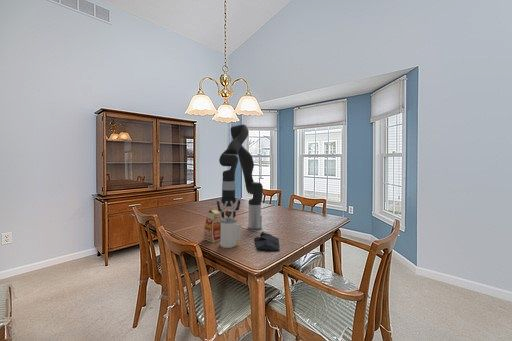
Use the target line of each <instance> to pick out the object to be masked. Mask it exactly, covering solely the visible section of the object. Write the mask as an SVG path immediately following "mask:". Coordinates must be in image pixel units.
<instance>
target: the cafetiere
mask: <svg viewBox="0 0 512 341" xmlns="http://www.w3.org/2000/svg"><path fill="white" fill-rule="evenodd" d="M237 222H238V219H237V218H236V217H234V218H233V217H231V216H229V220H228V217H224V218H223V217H221V218H220V240H219V243H220V247H222V248H224V249H231V248H234V247H236V246H237V240H238V241H240V240H242V223H237Z"/></svg>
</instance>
